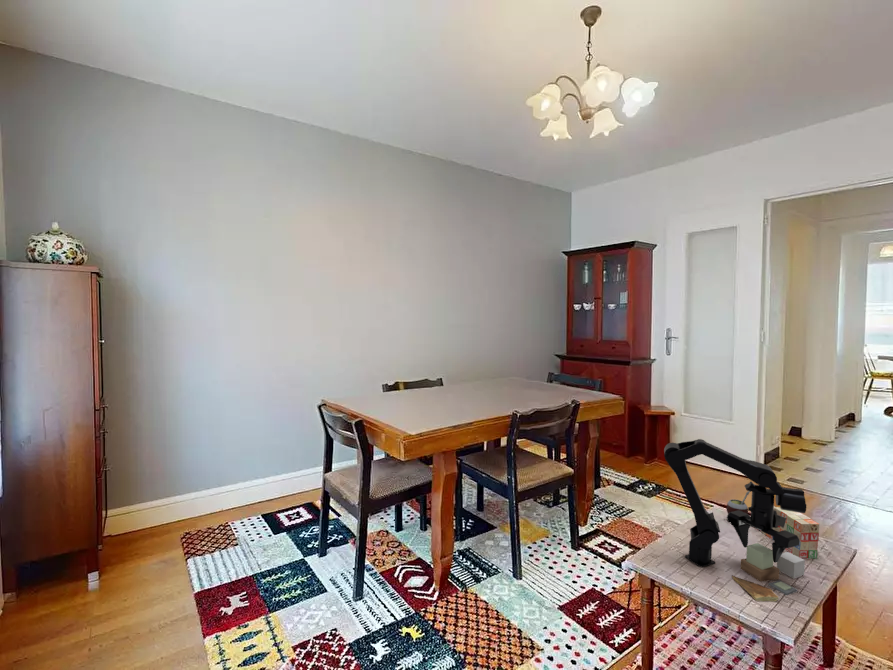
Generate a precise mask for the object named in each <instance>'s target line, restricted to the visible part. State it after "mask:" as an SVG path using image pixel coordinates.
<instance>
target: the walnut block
mask: <svg viewBox="0 0 893 670" xmlns="http://www.w3.org/2000/svg"><path fill="white" fill-rule="evenodd" d="M740 570H741V571H743V572H744V573H746V574H747V575H749V576H751V577H752V578H754V579H755V580H757V581H758V582H760V583H762V582H768V581H777V580H780V571H779V568H777V566H775V565H774V564H773V567H770V568H767V569H763V570H762V569H760V568H758V567H756V566H754V565H752V564H750V563H749V562H747V561H746V558H741V559H740Z"/></svg>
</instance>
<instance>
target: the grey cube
mask: <svg viewBox="0 0 893 670" xmlns="http://www.w3.org/2000/svg"><path fill="white" fill-rule="evenodd" d="M805 564H806V560H805V559H802V558H800V557H798V556H795V555H793V554H792V553H791V552H789V551H786V552H783V553H782V555H781V556H780V558H779V560H778V562H776V567H777V568H779V573H780V572H781V573H782V574H784V575H786V576H788V577H789V578H791V579H797V578H800V577H803V576H805V567H806V566H805ZM802 575H803V576H802Z"/></svg>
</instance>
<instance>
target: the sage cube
mask: <svg viewBox="0 0 893 670" xmlns="http://www.w3.org/2000/svg"><path fill="white" fill-rule="evenodd" d="M745 559H746V561H747V562H749V563H750V564H752V565H754V566H756V567H758V568H760V569H762V570H763V569H767V568H770V567H773V565H774V561H773V552H772V549H771V548H768V547H767V546H765V545H763V544H761V543H758V542H756V543H753V544H749V545H747V547H746V558H745Z"/></svg>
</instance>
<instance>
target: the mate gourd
mask: <svg viewBox="0 0 893 670" xmlns="http://www.w3.org/2000/svg"><path fill="white" fill-rule="evenodd" d="M750 492H751V493H752V491H746V493H745V496H744V497H743V499H742V500H739V499H729V500H728V501H727V505H726V512H727V514H728V513H730V512H733V511H738V510H740V511H742V512H744V513H747V514H749V511H748V505H747V504H746V503H745V501H746V499H747V497H748V496H749V494H750Z"/></svg>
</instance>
